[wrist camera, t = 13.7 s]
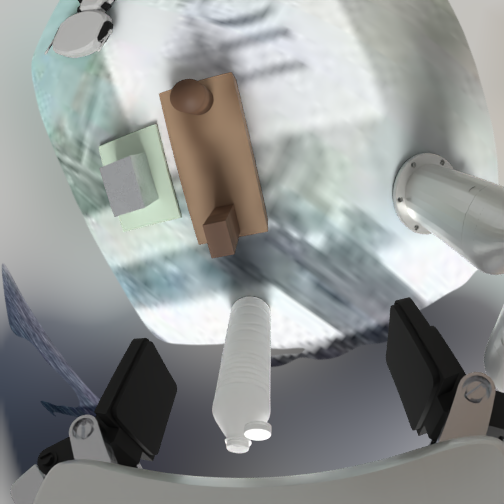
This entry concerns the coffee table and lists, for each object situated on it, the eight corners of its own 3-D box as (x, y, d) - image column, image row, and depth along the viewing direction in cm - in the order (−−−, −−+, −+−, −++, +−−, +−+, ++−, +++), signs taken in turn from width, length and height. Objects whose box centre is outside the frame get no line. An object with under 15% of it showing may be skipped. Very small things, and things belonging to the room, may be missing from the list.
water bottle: (258, 332, 48) (251, 465, 25) (224, 317, 47) (196, 450, 24) (285, 295, 44) (295, 437, 21) (248, 278, 43) (230, 419, 20)
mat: (157, 124, 34) (155, 124, 34) (181, 216, 40) (180, 217, 39) (100, 146, 36) (98, 147, 35) (125, 230, 41) (123, 232, 41)
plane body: (236, 79, 32) (222, 56, 21) (267, 219, 39) (267, 254, 28) (172, 97, 33) (134, 86, 22) (206, 231, 41) (184, 269, 30)
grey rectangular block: (145, 152, 36) (129, 155, 31) (158, 198, 38) (145, 207, 34) (117, 163, 36) (99, 168, 32) (130, 207, 39) (114, 217, 34)
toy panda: (88, -9, 24) (56, 61, 29) (76, -18, 20) (40, 56, 25) (145, -15, 25) (109, 60, 30) (135, -28, 21) (94, 53, 26)
